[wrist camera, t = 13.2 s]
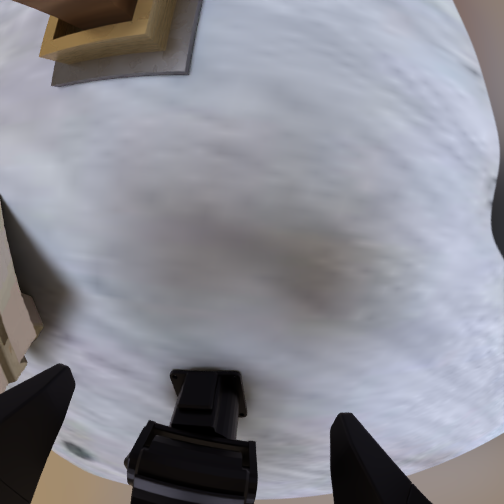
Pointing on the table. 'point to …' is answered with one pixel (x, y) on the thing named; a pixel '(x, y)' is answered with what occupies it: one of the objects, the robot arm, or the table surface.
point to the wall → (14, 318)
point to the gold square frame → (125, 44)
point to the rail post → (86, 11)
